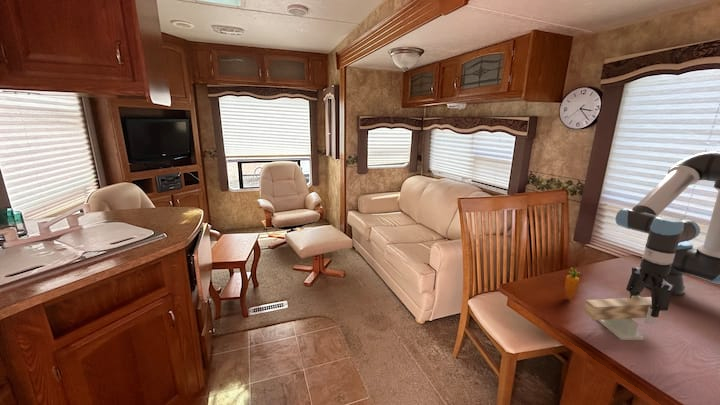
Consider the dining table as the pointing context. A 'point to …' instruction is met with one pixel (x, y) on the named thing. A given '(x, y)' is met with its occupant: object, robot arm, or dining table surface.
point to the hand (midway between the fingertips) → (640, 316)
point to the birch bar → (618, 308)
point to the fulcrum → (623, 328)
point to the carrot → (571, 284)
